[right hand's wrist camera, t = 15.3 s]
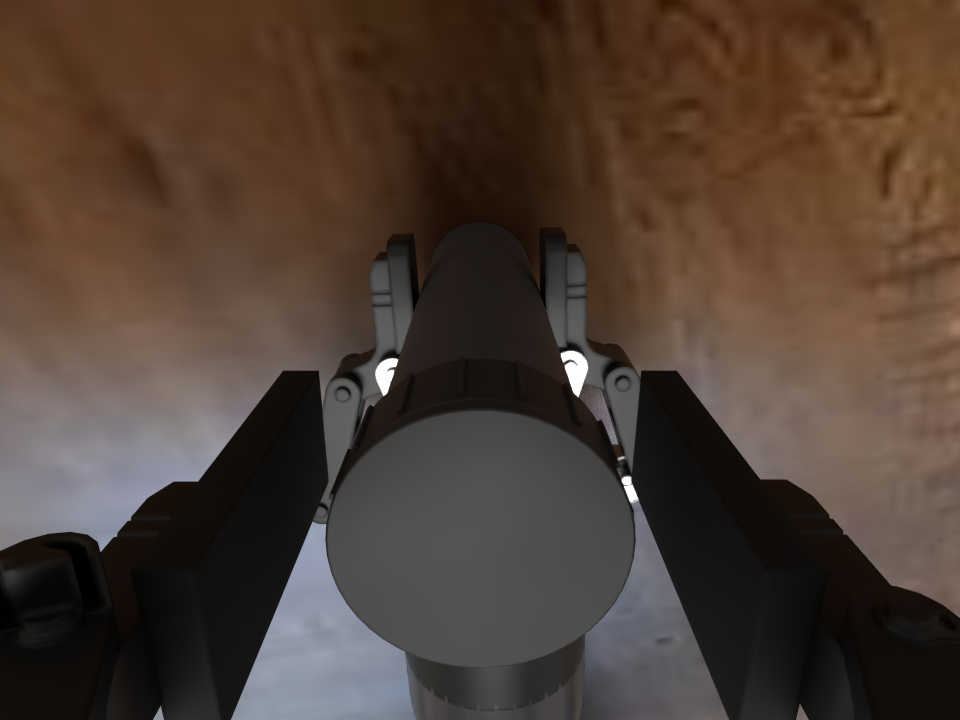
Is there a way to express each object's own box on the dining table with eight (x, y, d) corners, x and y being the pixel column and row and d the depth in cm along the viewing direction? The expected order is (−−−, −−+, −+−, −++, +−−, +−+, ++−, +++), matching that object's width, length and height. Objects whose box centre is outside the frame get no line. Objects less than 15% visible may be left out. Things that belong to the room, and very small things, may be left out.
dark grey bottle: (410, 279, 29) (299, 543, 11) (472, 200, 28) (458, 354, 10) (487, 338, 30) (498, 668, 12) (550, 264, 29) (665, 510, 11)
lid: (534, 619, 14) (543, 707, 12) (308, 528, 13) (277, 606, 11) (662, 425, 12) (700, 488, 10) (415, 308, 11) (400, 350, 9)
